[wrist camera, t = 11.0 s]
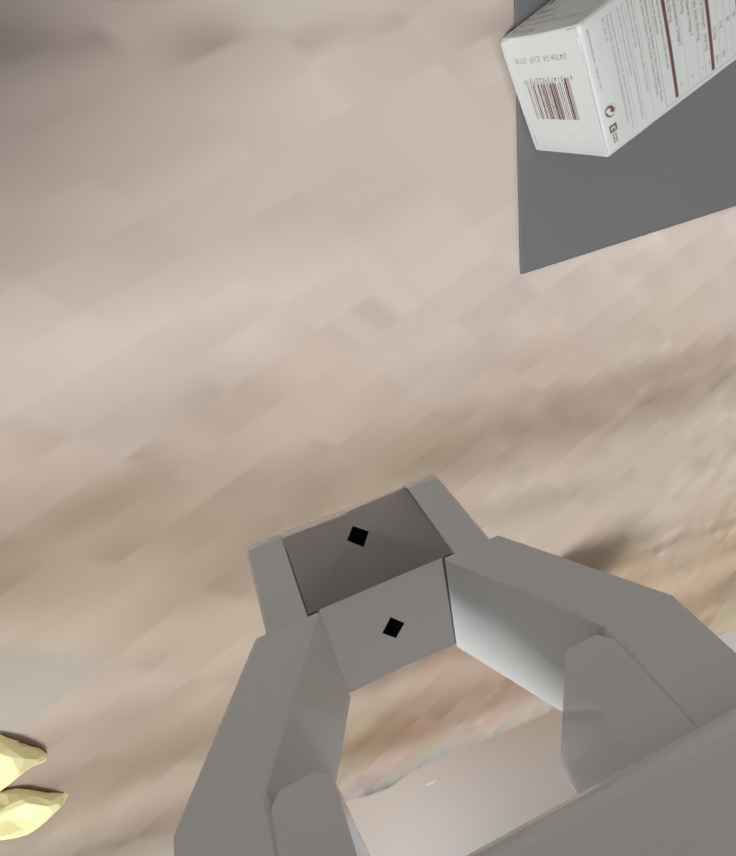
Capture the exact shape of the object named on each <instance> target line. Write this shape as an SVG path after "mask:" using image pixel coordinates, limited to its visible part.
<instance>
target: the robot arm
mask: <svg viewBox="0 0 736 856" xmlns="http://www.w3.org/2000/svg"><path fill="white" fill-rule="evenodd" d="M281 535H282V537H281ZM282 538H283V539H282ZM247 555H248V559H249V563H250V567H251V572H252V576H253V580H254V584H255V588H256V592H257V597H258V601H259V605H260V609H261V613H262V617H263V622H264V626H265V630H266V635H263V636H261V637H259V638H257V639H256V640H255V642H254V645H253V647H252V650H251V652H250V654H249V657H248V659H247V662H246V664H245V666H244V669H243V671H242V674H241V676H240V678H239V681H238V683H237V686H236V688H235V690H234V693H233V695H232V698H231V700H230V702H229V705H228V707H227V710H226V712H225V714H224V717H223V719H222V722H221V724H220V726H219V729H218V731H217V733H216V736H215V738H214V741H213V743H212V745H211V748H210V750H209V753H208V755H207V757H206V760H205V762H204V765H203V767H202V769H201V772H200V774H199V777H198V779H197V781H196V784H195V786H194V789H193V791H192V793H191V796H190V798H189V801H188V803H187V805H186V808H185V810H184V813H183V815H182V817H181V820H180V822H179V825H178V827H177V829H176V832H175V834H174V856H370V855H369V853H368V851H367V849H366V846H365V844H364V842H363V840H362V838H361V835H360V833H359V831H358V829H357V827H356V825H355V823H354V820H353V818H352V816H351V814H350V812H349V810H348V807H347V805H346V803H345V801H344V799H343V796H342V794H341V792H340V790H339V788H338V786H337V783H336V778H337V772H338V767H339V761H340V755H341V749H342V743H343V737H344V732H345V726H346V720H347V714H348V708H349V703H350V694H349V693H351V692H353V691H355V690H357V689H359V688H361V687H363V686H365V685H367V684H369V683H371V682H373V681H375V680H377V679H379V678H381V677H383V676H385V675H387V674H389V673H391V672H393V671H395V670H397V669H399V668H401V667H403V666H406V665H408V664H410V663H413V662H415V661H417V660H420V659H422V658H424V657H426V656H429V655H431V654H433V653H436V652H438V651H440V650H443V649H445V648H447V647H450V646H452V645H454V644H457V647H458V648H460V649H462V650H463V651H465V652H467V653H468V654H470V655H471V656H473V657H475V658H476V659H478V660H479V661H481V662H483V663H484V664H486V665H488V666H489V667H491V668H492V669H494V670H496V671H497V672H499V673H500V674H502V675H504V676H505V677H507V678H509V679H510V680H512V681H513V682H515V683H517V684H518V685H520V686H521V687H523V688H525V689H526V690H528V691H530V692H531V693H533V694H534V695H536V696H538V697H539V698H541V699H542V700H544V701H546V702H547V703H549V704H551V705H552V706H554V707H555V708H557V709H559V710H560V711H562V712H563V717H562V718H563V719H562V737H561V739H562V740H561V759H560V767H561V769H562V770H563V772H564V774H565V775H566V777H567V778H568V780H569V781H570V783H571V785H572V786H573V788H574V789H575V791H576V793H577V795H575V796H574V797H572V798H570V799H568V800H566V801H565V802H563V803H561V804H559V805H557V806H555V807H554V808H552V809H550V810H548V811H547V812H545V813H543V814H541V815H539V816H537V817H536V818H534V819H532V820H531V821H529V822H527V823H525V824H523V825H521V826H519V827H518V828H516V829H514V830H512V831H510V832H508V833H507V834H505V835H503V836H501V837H499V838H498V839H496V840H494V841H492V842H491V843H489V844H487V845H485V846H483V847H481V848H480V849H478V850H476V851H474V852H472V853H470V854H469V855H467V856H736V653H735V652H734V651H733V650H732V649H730V648H729V647H728V646H727V645H726V644H725V643H724V642H723V641H722V640H721V639H719V638H718V637H717V636H716V635H715V634H714V633H713V632H712V631H711V630H710V629H708V628H707V627H706V626H705V625H704V624H703V623H702V622H701V621H700V620H698V619H697V618H696V617H695V616H694V615H693V614H692V613H691V612H690V611H689V610H687V609H686V608H685V607H684V606H683V605H682V604H681V603H680V602H679V601H677V600H676V599H675V598H674V597H673V596H672V595H669V594H666V593H663V592H660V591H657V590H654V589H652V588H649V587H646V586H643V585H640V584H637V583H634V582H631V581H628V580H626V579H623V578H620V577H617V576H614V575H611V574H608V573H605V572H602V571H600V570H597V569H594V568H591V567H588V566H585V565H582V564H579V563H576V562H574V561H571V560H568V559H565V558H562V557H559V556H556V555H553V554H550V553H548V552H545V551H542V550H539V549H536V548H533V547H530V546H527V545H524V544H522V543H519V542H516V541H513V540H510V539H507V538H504V537H501V536H496V537H494V538H491V539H489V538H488V537H487V536H486V535H485V533H484V532H483V531H482V530H481V529H480V527H479V526H478V525H477V524H476V523H475V521H474V520H473V519H472V518H471V517H470V515H469V514H468V513H467V512H466V511H465V509H464V508H463V507H462V506H461V505H460V503H459V502H458V501H457V500H456V499H455V497H454V496H453V495H452V494H451V493H450V491H449V490H448V489H447V488H446V487H445V485H444V484H443V483H442V482H441V481H440V479H439V478H438V477H437V476H435V475H433V474H430V475H428V476H426V477H423V478H421V479H418V480H416V481H413V482H411V483H409V484H406V485H404V486H403V487H400V488H398V489H395V490H393V491H390V492H388V493H385V494H383V495H380V496H378V497H375V498H373V499H370V500H368V501H365V502H363V503H360V504H357V505H355V506H352V507H350V508H347V509H345V510H343V511H340V512H337V513H334V514H332V515H329V516H326V517H323V518H321V519H318V520H315V521H312V522H310V523H307V524H304V525H301V526H299V527H296V528H293V529H290V530H288V531H285V532H282V533H281V534H278V535H276V536H273V537H270V538H267V539H265V540H262V541H259V542H256V543H254V544H251V545H248V546H247Z"/></svg>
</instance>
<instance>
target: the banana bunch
mask: <svg viewBox="0 0 736 856" xmlns="http://www.w3.org/2000/svg"><path fill="white" fill-rule="evenodd" d="M47 757H48V756H47V753H45V752H44V751H43V750H41V749H39V748H37V747H33V746H29V745H27V744H24V743H20V742H19V741H17V740H14V739H11V738H8V737H5V736H3V735H1V734H0V791H1V790H3V789H4V788H5V787H7V786H8V785H9V784H10V783H12V782H13V781H14V780H15V779H16V778H18V777H19V776H20V775H21V774H23V773H24V772H25V771H27V770H29V769H30V768H32V767H33V766H35V765H37V764H40V763H42V762H45V760H46V759H47ZM67 797H68V795H67V794H66V792H64V793H54V792H50V793H47V792H42V791H36V790H30V789H20V788H15V789H7V790H4V791H1V792H0V840H5V839H13V838H17V837H20V836H24V835H27V834H29V833H31V832H33V831H34V830H36V829H37V828H39V827H40V826H41V825H42V824H43V823H45V822H46V821H47V820H48V819H49V818H50V817H51V816H52V815H53V814H54V813H55V812H56V811H57V810H58V809H59V808H60V807H61V806H62V805H63V804H64V803H65V801H66V799H67Z"/></svg>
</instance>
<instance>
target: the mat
mask: <svg viewBox="0 0 736 856" xmlns="http://www.w3.org/2000/svg"><path fill="white" fill-rule="evenodd" d="M550 1H551V0H514V15H515V28H516V27H517V26H519V25H520V24H521V23H523V22H524V21H525V20H526V19H528V18H529V17H530V16H532V15H533V14H534V13H535V12H537V11H538V10H539V9H541V8H542V7H543V6H545V5H546V4H547V3H549V2H550ZM516 108H517V155H518V201H519V248H520V273H521V274H524V273H527V272H530V271H533V270H536V269H540V268H543V267H546V266H549V265H552V264H555V263H558V262H561V261H565V260H568V259H571V258H574V257H577V256H580V255H583V254H586V253H590V252H593V251H596V250H599V249H602V248H605V247H608V246H611V245H615V244H618V243H621V242H624V241H627V240H630V239H633V238H636V237H640V236H643V235H646V234H649V233H652V232H655V231H658V230H661V229H665V228H668V227H671V226H674V225H677V224H680V223H683V222H686V221H690V220H693V219H696V218H699V217H702V216H705V215H708V214H711V213H715V212H718V211H721V210H724V209H727V208H730V207H733V206H736V60H735V61H733V62H732V63H731V64H729V65H728V66H727V67H726V68H724V69H723V70H722V71H720V72H719V73H718V74H716V75H715V76H714V77H712V78H711V79H710V80H708V81H707V82H706V83H704V84H703V85H702V86H701V87H699V88H698V89H697V90H695V91H694V92H693V93H691V94H690V95H689V96H687V97H686V98H685V99H683V100H682V101H681V102H679V103H678V104H677V105H675V106H674V107H673V108H672V109H670V110H669V111H668V112H666V113H665V114H664V115H662V116H661V117H660V118H658V119H657V120H656V121H654V122H653V123H652V124H651V125H649V126H648V127H647V128H645V129H644V130H643V131H642V132H640V133H639V134H638V135H636V136H635V137H634V138H632V139H631V140H630V141H628V142H627V143H626V144H625V145H623V146H622V147H621V148H619V149H618V150H617V151H616V152H614V153H613V154H612V155H610V156H609V157H603V156H594V155H584V154H574V153H564V152H553V151H542V150H536V148H535V145H534V143H533V140H532V137H531V134H530V131H529V128H528V125H527V122H526V119H525V117H524V114H523V111H522V108H521V105H520V102H519V99H518V96H517V93H516Z"/></svg>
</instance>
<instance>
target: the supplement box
mask: <svg viewBox="0 0 736 856" xmlns="http://www.w3.org/2000/svg"><path fill="white" fill-rule="evenodd" d="M501 47H502V50H503V54H504V57H505V60H506V63H507V66H508V69H509V72H510V75H511V78H512V81H513V84H514V87H515V90H516V93H517V96H518V99H519V102H520V105H521V108H522V111H523V114H524V117H525V119H526V122H527V125H528V128H529V131H530V134H531V137H532V140H533V143H534V145H535V148H536V150H542V151H553V152H564V153H574V154H584V155H594V156H603V157H609V156H610V155H612V154H613V153H614V152H616V151H617V150H618V149H619V148H621V147H622V146H623V145H625V144H626V143H627V142H628V141H630V140H631V139H632V138H634V137H635V136H636V135H638V134H639V133H640V132H642V131H643V130H644V129H645V128H647V127H648V126H649V125H651V124H652V123H653V122H654V121H656V120H657V119H658V118H660V117H661V116H662V115H664V114H665V113H666V112H668V111H669V110H670V109H672V108H673V107H674V106H675V105H677V104H678V103H679V102H681V101H682V100H683V99H685V98H686V97H687V96H689V95H690V94H691V93H693V92H694V91H695V90H697V89H698V88H699V87H701V86H702V85H703V84H704V83H706V82H707V81H708V80H710V79H711V78H712V77H714V76H715V75H716V74H718V73H719V72H720V71H722V70H723V69H724V68H726V67H727V66H728V65H729V64H731V63H732V62H733V61H735V60H736V0H551V1H550V2H549V3H547V4H546V5H545V6H543V7H542V8H541V9H539V10H538V11H537V12H535V13H534V14H533V15H532V16H530V17H529V18H528V19H526V20H525V21H524V22H523V23H521V24H520V25H519V26H517V27H516V28H515V29H514V30H512V31H511V32H510V33H508V34H507V35H506V36H505V37H503V38H502V40H501Z"/></svg>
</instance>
